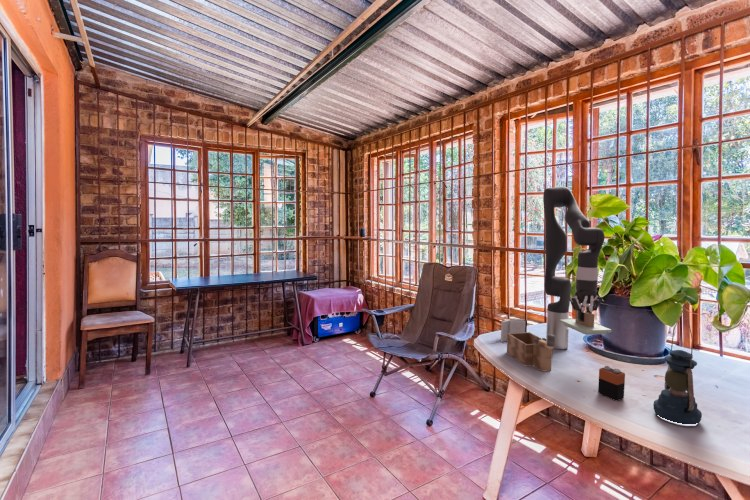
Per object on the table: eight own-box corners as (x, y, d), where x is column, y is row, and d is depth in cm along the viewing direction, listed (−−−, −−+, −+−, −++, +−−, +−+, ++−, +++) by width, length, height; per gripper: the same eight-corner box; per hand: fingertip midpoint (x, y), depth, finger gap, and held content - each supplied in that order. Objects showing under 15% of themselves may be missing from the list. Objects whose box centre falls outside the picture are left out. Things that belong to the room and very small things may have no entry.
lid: (559, 324, 165) (560, 307, 164) (583, 323, 166) (584, 307, 166) (585, 335, 149) (586, 317, 148) (611, 334, 150) (612, 316, 150)
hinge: (501, 341, 195) (502, 322, 194) (496, 338, 200) (497, 319, 199) (527, 340, 197) (528, 320, 196) (522, 337, 202) (522, 318, 201)
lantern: (644, 405, 130) (650, 301, 127) (685, 409, 127) (692, 302, 124) (666, 428, 116) (674, 311, 113) (713, 432, 114) (722, 313, 110)
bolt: (537, 342, 162) (537, 330, 162) (543, 342, 162) (544, 330, 162) (549, 349, 154) (549, 336, 153) (556, 349, 154) (556, 336, 154)
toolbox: (506, 352, 179) (507, 327, 178) (529, 351, 181) (530, 326, 180) (533, 371, 158) (534, 343, 157) (558, 370, 160) (559, 341, 158)
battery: (616, 401, 133) (618, 372, 132) (597, 393, 139) (598, 365, 138) (624, 398, 135) (626, 370, 134) (605, 390, 141) (606, 363, 140)
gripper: (596, 276, 161) (593, 318, 162) (564, 277, 159) (562, 319, 160) (609, 279, 153) (606, 323, 155) (576, 280, 151) (574, 324, 153)
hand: (584, 320), depth 157 cm, fingers closed on lid
